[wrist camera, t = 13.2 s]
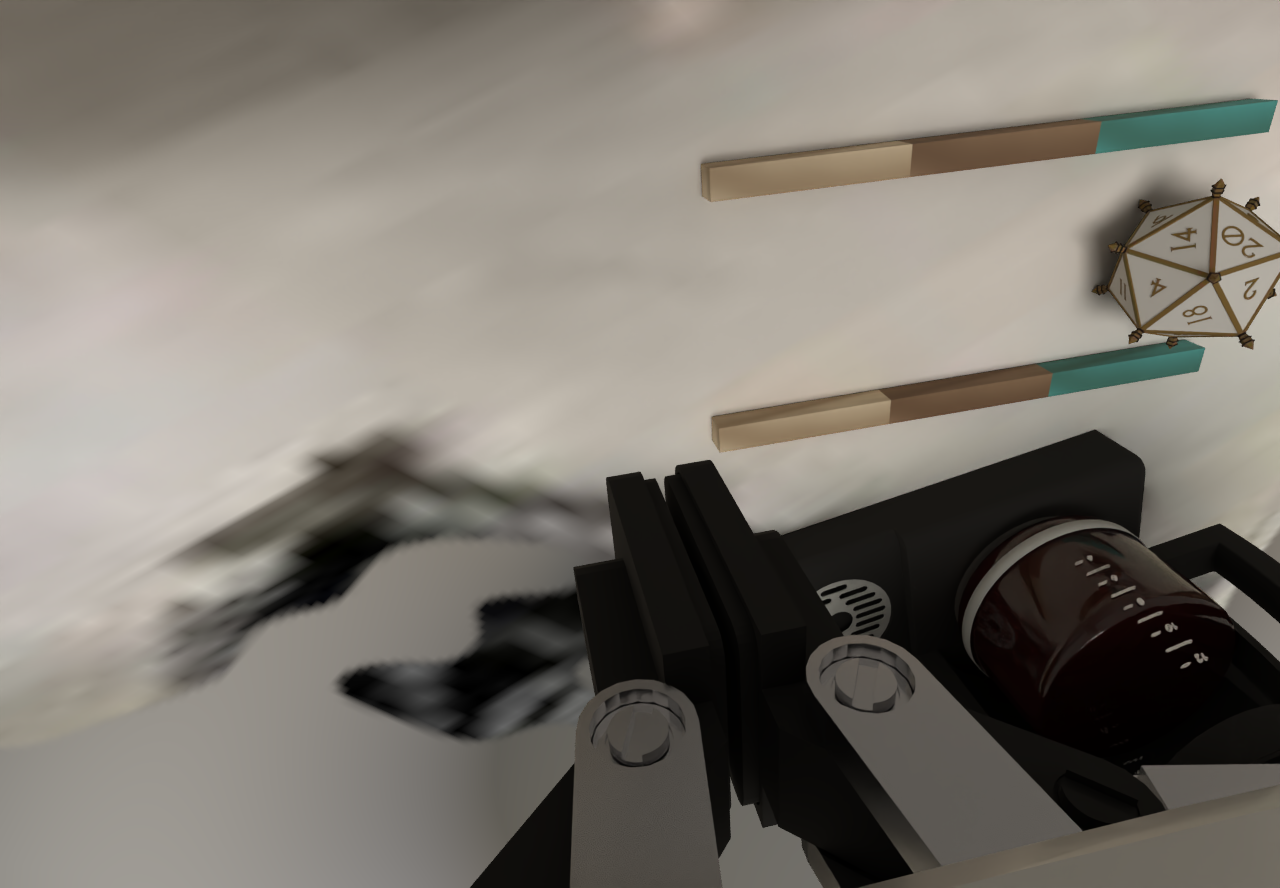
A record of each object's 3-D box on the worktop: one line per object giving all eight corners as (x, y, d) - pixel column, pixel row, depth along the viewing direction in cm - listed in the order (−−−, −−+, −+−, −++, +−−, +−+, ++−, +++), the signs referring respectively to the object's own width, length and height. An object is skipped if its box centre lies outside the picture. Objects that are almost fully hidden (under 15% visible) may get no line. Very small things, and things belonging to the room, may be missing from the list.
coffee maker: (1155, 399, 48) (2328, 1006, 18) (1133, 619, 58) (1870, 1258, 27) (739, 539, 47) (1231, 1452, 16) (788, 741, 56) (1155, 1551, 26)
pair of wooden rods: (700, 164, 36) (709, 168, 35) (1251, 98, 40) (1277, 100, 39) (712, 440, 43) (720, 452, 42) (1178, 362, 47) (1198, 371, 46)
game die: (1059, 244, 46) (1070, 253, 37) (1213, 150, 42) (1267, 135, 33) (1140, 368, 46) (1171, 405, 37) (1304, 286, 42) (1381, 307, 33)
